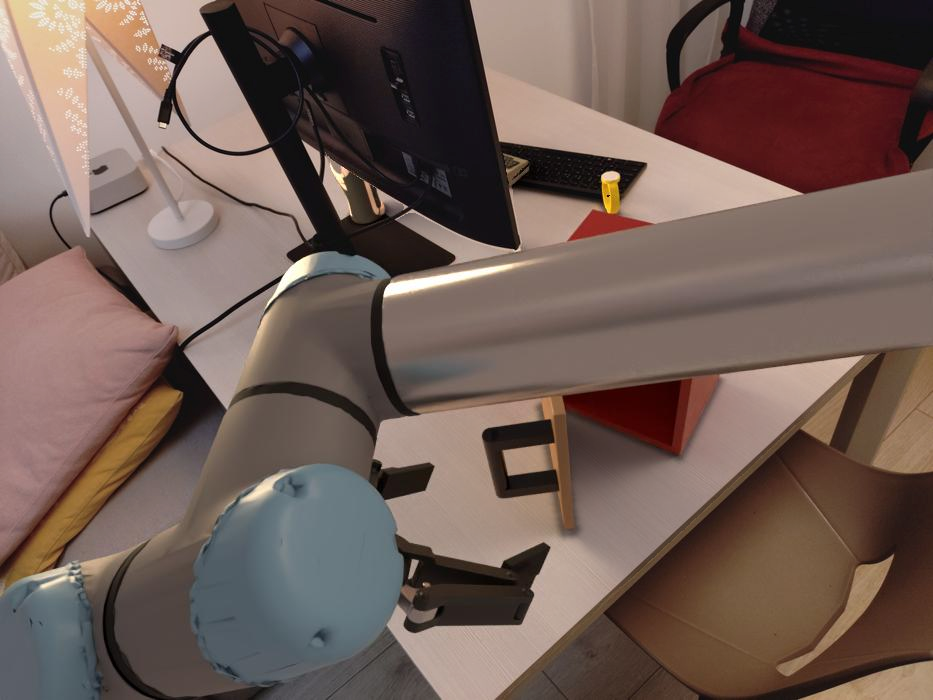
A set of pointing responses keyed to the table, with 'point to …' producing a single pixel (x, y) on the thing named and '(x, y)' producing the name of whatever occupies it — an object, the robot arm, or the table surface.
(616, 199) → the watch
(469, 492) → the table surface
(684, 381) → the cabinet
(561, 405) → the cabinet door
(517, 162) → the cream printed box
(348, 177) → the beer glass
